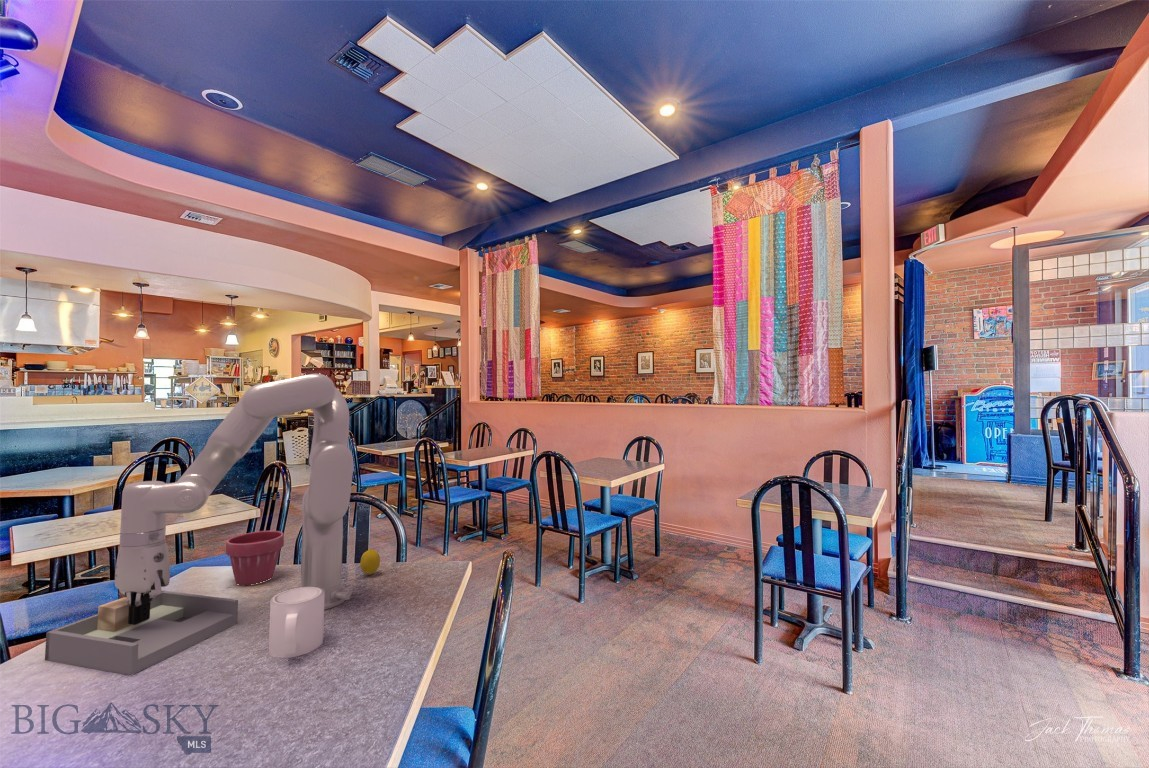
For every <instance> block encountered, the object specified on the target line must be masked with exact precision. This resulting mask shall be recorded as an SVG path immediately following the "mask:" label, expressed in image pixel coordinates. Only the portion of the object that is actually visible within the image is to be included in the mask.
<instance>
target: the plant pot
mask: <svg viewBox="0 0 1149 768" xmlns="http://www.w3.org/2000/svg"><path fill="white" fill-rule="evenodd" d="M225 543H226V544H225V555H226V556H228V557H229V560H230V564H231V569H232V573H233V577H234V581H235V584H236V585H237V584H239V585H251V584H256V583H260V582H263V581H266V580H268V579H270V578H272V577H274V574H275V569H276V567H277V563H278V559H279V555H280V552H281V549H282V548H283V547H284V543H285V537H284V532H282V531H279V530H259V531H252V532H248V533H247V532H246V533H242V534H238V535H234V536H232V537H230V538H228V539H227V540H226V542H225ZM272 579H273V578H272ZM239 585H238V586H239ZM251 586H252V585H251Z"/></svg>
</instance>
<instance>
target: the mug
mask: <svg viewBox="0 0 1149 768" xmlns="http://www.w3.org/2000/svg"><path fill="white" fill-rule="evenodd" d="M324 597H325V591H324V589H323V588H321V587H316V586H306V587H300V586H299V587H294V588H288V589H286V590H283V591H281V592H278V593H276V594H274V595H273V596H272V597H271V598H270V601H269V604H270V605H269V606H270V607H269V632H268V633H269V635H268V655H269V656H271V657H273V658H277V659H287V658H295V657H299V656H303V655H305V654H308V653H310V652H312V651H314V650H316V649H318V648H319V647H320V646H321V645H322V644H323V642H324V631H325V630H324V627H325V626H324V625H325V624H324V623H325V622H324V620H325V610H324Z"/></svg>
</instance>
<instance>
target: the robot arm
mask: <svg viewBox="0 0 1149 768" xmlns="http://www.w3.org/2000/svg"><path fill="white" fill-rule="evenodd" d="M307 410H312V413H313V419H314V420H313V421H314V422H313V433H312V434H313V435H312V442H311V448H310V452H309V457H308V462H309V466H310V476H309V484H308V487H307V489H306V490H305V491H304V494H303V495H302V502H301V511H302V512H301V513H302V514H301V516H302V517H301V518H302V522H301V523H302V525H301V526H302V527H301V528H302V530H301V531H302V532H301V534H302V535H301V558H300V561H301V562H300V565H301V566H300V586H299V587H306V586H316V587H321V588H323V589H324V591H325V597H324V611H325V610H328V609H331V608H332V609H333V608H334V607H337V606H340V605H341V604H343V603H344V602H345V601H348V600H350V598H351V595H352V594H353V589H352V588H346V585H345V584H346V583H345V581H342V571H343V569H342V565H343V538H344V530H343V529H344V526H343V525H344V520H343V517H344V516H345V515H346V513H347V511H348V509H349V505H350V501H351V491H352V483H353V476H354V474H353V473H354V457H353V453H352V451H351V449H349V447H348V445H349V435H350V433H349V431H350V410H349V406H348V403H347V400H346V398H345V397H344V396H343V394H342V392H340V390H339V389H338V388H337V387H336V386H335V384H334V382H333V380H332V379H331V378H330V377H328V376H327V375H324V374H322V373H310V374H305V375H300V376H295V377H290V378H285V379H280V380H274V381H270V382H269V381H268V382H262V383H258V384H254V385H252V386H250V387H249V388H248V389H247V390H246V391H245V392H244V394H243V395H242V397H241V398H240V399H239V400H238V401H237V403H235V406H233V408H232V409H231V410H230V411H229V413H228V414H227V415H226V416H225V417H224V419H223V420H222V421H221V422H220V423H219V424H218V426H217V427H216V428H215V430H214V431H212V433H211V435H210V436H209V438H208V439H207V442H206V443H205V445H204V447H203V448H202V450H201V451H200V452H199V454H198V455H197V456H196V458H195V459H194V460H193V461H192V463H191V464H190V465H189V466H188V468H187V469H186V470H185V471H184V472H183V474H182V475H181V476H180V477H179V478H178V480H177V481H175V482H169V483H166V482H165V481H160V480H145V481H144V480H143V481H137V482H131V483H129V484H126V485H125V486H124V487H123V490H122V494H121V510H120V511H121V515H120V530H119V532H120V534H119V548H118V553H117V556H116V557H117V558H116V565H115V570H114V571H115V573H114V585H115V588H116V589H117V590H118V591H119V593H120V594H122V595H124V597H127V605H131V606H129V614H128V624H132V625H136V624H139V623H141V622H144V621H146V620H148V619H149V618H150V602H151V601H153V598H154V597H157V596H160V595H162V591H163V590H162V588H164V587H165V588H166V587H168V586H169V584H170V582H171V569H170V568H171V566H170V565H171V563H170V553H169V546H168V543H167V542H166V529H167V527H166V526H167V514H171V515H172V514H177V515H179V514H180V515H181V514H185V515H186V514H191V513H194V512H196V511H199V510H200V509H201V508H203V507H204V506H205V504H206V503H207V501H208V498H209V497H210V495H211V494H212V493H213V491H214V490H215V489H216V487H217V486H218V485H219V484H220V483H221V481H222V480H223V479H224V477H225V476H226V475H227V473H228V472H229V471H230V469H232V468H233V466H234V465H235V464H236V463H237V462H238V461H239V460H240V459H242V458H243V457H244V456H245V455H246V454H247V453H248V451H249V450H250V449H251V448H252V446H253V445H254V444H255V443H256V441H257V440H258V439H259V438H260V436H261V435H262V434H263V432H264V431H265V430H266V429H267V427H268V426H270V425H269V424H271V422H272V421H273V420H274V418H276V417H277V418H278V417H282V416H286V415H290V414H295V413H299V412H303V411H307Z"/></svg>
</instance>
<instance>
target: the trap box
mask: <svg viewBox="0 0 1149 768" xmlns="http://www.w3.org/2000/svg"><path fill="white" fill-rule="evenodd" d="M238 609H239V600H238V599H234V598H226V597H217V596H210V595H209V596H208V595H202V594H193V593H185V592H179V591H170V590H162V595H160V596H157V597H154V598H153V601H151V602H150V618H149V619H148V620H146V621H144V622H141V623H139V624H136V625H131V626H129V627H126V628H124V629H121V630H119V631H116V632H110V631H104V630H97V624H98V613H97V614H93V615H91V616H88V617H84V618H82V619H80V620H77V621H74V622H71V623H68V624H66V625H62V626H60V627H57V628H54V629H51V630H49V631H47V632H46V634H45V635H46V636H45V648H44V649H45V651H44V661H48V662H55V663H60V664H66V665H71V666H76V667H82V668H88V669H92V670H99V671H103V672H109V673H115V674H120V673H121V674H120V675H125V674H128V675H127V676H133V675H135V674H138V673H139V672H141V670H142V671H144V670H145V668H146V669H147V668H149V667H152V666H153V665H156V664H157V663H160V662H162V661H164V660H167V659H168V658H169V657H172V656H174V655H176V654H178V653H180V652H182V651H184V650H186V649H188V648H190V647H192V646H195V645H197V644H198V643H202V641H204V640H207V639H208V638H210V637H213V636H215V635H217V634H219V633H221V632H223V631H225V630H227V629H229V628H232V627H234V626H235V625H238V614H239V613H238V612H239V610H238ZM143 669H144V670H143ZM132 674H133V675H132Z"/></svg>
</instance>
